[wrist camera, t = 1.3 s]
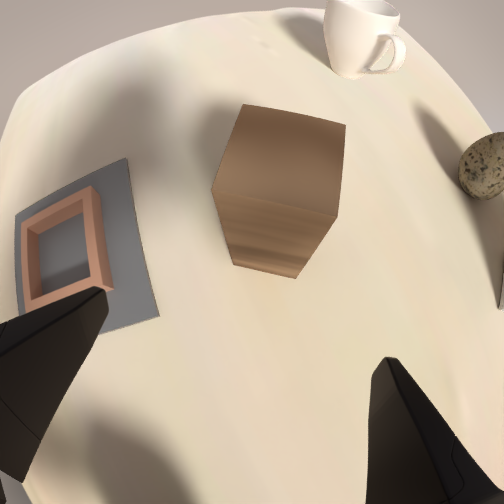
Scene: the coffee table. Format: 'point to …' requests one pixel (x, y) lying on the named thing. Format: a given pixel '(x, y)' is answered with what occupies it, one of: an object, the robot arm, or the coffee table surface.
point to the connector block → (278, 188)
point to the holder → (85, 248)
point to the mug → (361, 36)
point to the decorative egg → (483, 167)
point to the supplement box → (502, 298)
